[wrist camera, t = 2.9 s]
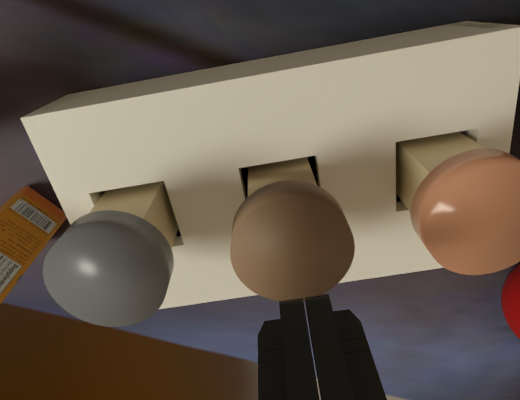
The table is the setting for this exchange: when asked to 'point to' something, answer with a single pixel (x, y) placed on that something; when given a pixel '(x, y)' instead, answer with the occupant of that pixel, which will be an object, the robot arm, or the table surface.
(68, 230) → the charcoal knob
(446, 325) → the table surface
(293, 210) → the walnut knob
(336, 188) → the knob console
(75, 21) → the table surface
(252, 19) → the table surface
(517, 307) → the christmas ornament
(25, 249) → the supplement box
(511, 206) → the terracotta knob
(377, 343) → the table surface
